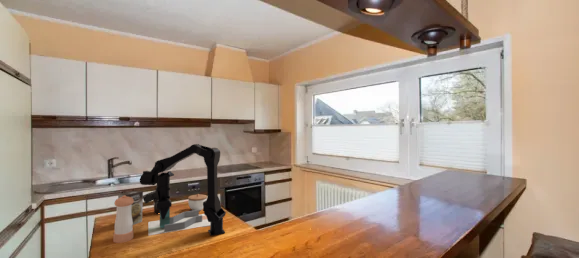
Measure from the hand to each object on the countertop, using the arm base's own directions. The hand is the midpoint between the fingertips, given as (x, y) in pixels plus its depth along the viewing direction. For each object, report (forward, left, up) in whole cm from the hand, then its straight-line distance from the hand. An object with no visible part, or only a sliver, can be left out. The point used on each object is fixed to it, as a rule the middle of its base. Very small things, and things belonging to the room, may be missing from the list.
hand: (162, 217), depth 120 cm
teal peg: (0, -1, -4) cm, 4 cm away
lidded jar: (+24, -20, -6) cm, 32 cm away
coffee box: (+14, +14, -6) cm, 21 cm away
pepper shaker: (-5, +15, -6) cm, 17 cm away
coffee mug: (+26, 0, -6) cm, 27 cm away
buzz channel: (+3, -10, -6) cm, 12 cm away
